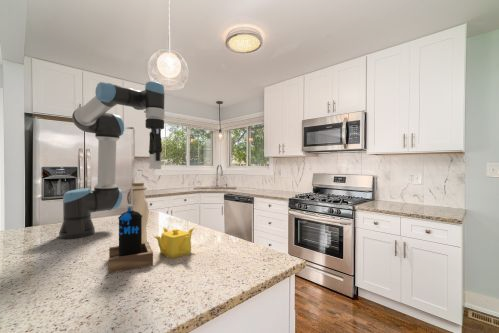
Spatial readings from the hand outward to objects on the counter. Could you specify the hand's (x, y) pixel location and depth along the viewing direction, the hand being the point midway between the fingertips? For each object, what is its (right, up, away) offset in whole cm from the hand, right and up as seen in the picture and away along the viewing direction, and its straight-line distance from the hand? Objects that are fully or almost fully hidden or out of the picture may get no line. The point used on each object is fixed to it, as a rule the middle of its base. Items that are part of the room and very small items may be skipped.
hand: (154, 168), depth 104 cm
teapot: (+10, -35, -3) cm, 37 cm away
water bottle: (-11, -35, +8) cm, 37 cm away
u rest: (-4, -35, -13) cm, 37 cm away
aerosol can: (-4, -34, -13) cm, 36 cm away
